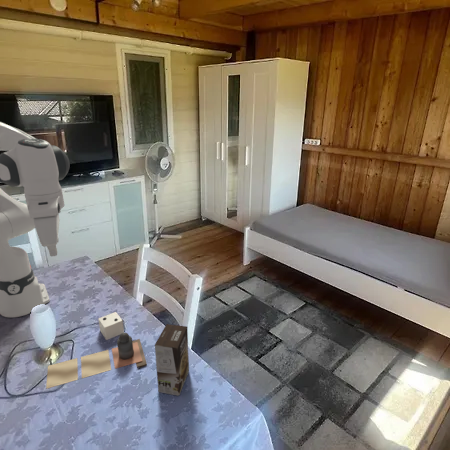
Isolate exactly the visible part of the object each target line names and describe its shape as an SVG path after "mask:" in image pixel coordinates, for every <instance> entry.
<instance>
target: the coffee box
mask: <svg viewBox="0 0 450 450" xmlns="http://www.w3.org/2000/svg"><path fill="white" fill-rule="evenodd" d="M188 335H189V333H188V326H185V325H176V324H169V323H167V324H165V326H164V328H163V330H162V331H161V333H160V335H159V337H158V338H157V340H156V341H155V343H154V350H155V351H154V353H155V354H154V355H155V366H156V367H155V368H156V377H157V379H156V380H157V392H158V393H163V394H167V395H173V396H177V397H178V396H180V395H181V392H182V390H183V388H184V385H185V382H186V380H187V377H188V375H189V372H190V364H189V363H190V359H189V336H188Z"/></svg>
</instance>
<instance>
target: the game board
mask: <svg viewBox="0 0 450 450" xmlns="http://www.w3.org/2000/svg"><path fill="white" fill-rule="evenodd" d="M132 342H133V350H134V355H133V356H132V357H131V358H130V359H127V360H122V359H120V357H119V352H118V346H117V347H113V348H111V354H112V358H113V360H112V361H113V366H114V369H116V370H117V369H119V368H123V367H126V366H130V365H134V364H136V369H140V368H143V367H146V366H148V363H147V359H146V357H145V352H144V350H143V346H142V342H141V339H140V338H138V339H134V340H132ZM78 363H79V362H78V357H76V358H72V359H68V360H64V361H61V362H58V363H53V364H50V365H47V374H46V386H45V388H46V389H45V390H48V389H52V388H55V387H58V386H60V385H65V384H68V383H71V382H75V381H78V380H79V379H78V378H79V375H78V374H79V369H78V367H79V366H78ZM80 363H81V364H80V366H81V369H80V370H81V379H84V378H88V377H92V376H96V375H98V374H102V373H105V372H109V371H112V363H111V358H110V351H109V349H106V350H102V351H98V352H95V353H91V354H87V355H83V356H80Z"/></svg>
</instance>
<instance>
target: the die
mask: <svg viewBox="0 0 450 450" xmlns="http://www.w3.org/2000/svg"><path fill="white" fill-rule="evenodd" d="M98 325H99V331H100V332H101V334H102V335H103V337H104V339H105V340H106V341H108V340H110V339H113V338H115V337H119V336H120V334H121V333H125V331H124V322H123V319H122V318H121V316H120V315H119V314H118V313H117V312H116V311H115V312H112V313H109V314H106V315H103V316H101V317H98Z"/></svg>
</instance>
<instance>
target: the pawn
mask: <svg viewBox="0 0 450 450" xmlns="http://www.w3.org/2000/svg"><path fill="white" fill-rule="evenodd" d="M132 341H133V338H132V336H131V335H129V333H127V332H124V333H121V334H120V335H118V338H117V340H116V345H117V347H118V352H119V357H120V359H122V360H127V359H130V358H131V357H132V356H133V355H134V350H133V342H132Z"/></svg>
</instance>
